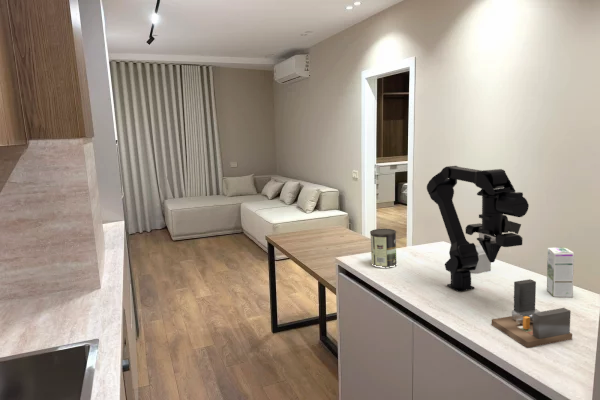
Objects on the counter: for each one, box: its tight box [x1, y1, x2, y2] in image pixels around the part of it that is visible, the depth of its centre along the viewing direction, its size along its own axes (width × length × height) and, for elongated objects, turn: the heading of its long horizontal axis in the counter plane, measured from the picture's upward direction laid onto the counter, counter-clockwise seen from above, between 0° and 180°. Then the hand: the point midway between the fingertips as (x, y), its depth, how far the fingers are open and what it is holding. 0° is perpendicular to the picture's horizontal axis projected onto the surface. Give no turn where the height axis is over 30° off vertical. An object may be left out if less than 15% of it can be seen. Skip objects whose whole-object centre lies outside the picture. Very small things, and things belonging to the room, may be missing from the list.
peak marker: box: [523, 316, 530, 329], centre depth 106 cm, size 1×1×3 cm
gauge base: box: [491, 307, 573, 349], centre depth 108 cm, size 13×13×8 cm
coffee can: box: [369, 228, 398, 267], centre depth 169 cm, size 10×10×14 cm
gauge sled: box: [511, 278, 541, 325], centre depth 110 cm, size 6×7×10 cm
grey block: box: [470, 244, 492, 275], centre depth 159 cm, size 10×13×9 cm
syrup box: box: [546, 246, 575, 298], centre depth 130 cm, size 6×6×14 cm
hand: (491, 261), depth 126 cm, fingers closed
